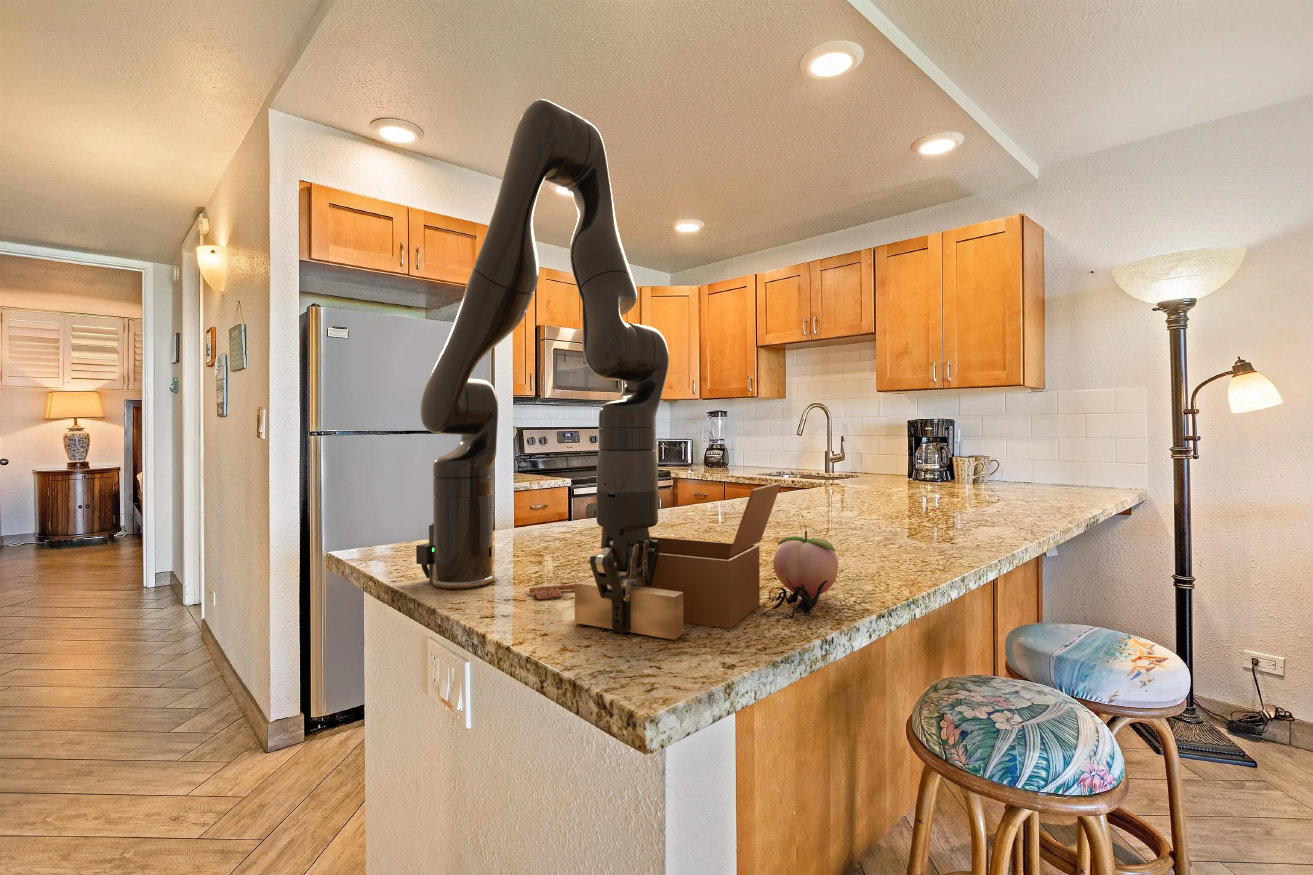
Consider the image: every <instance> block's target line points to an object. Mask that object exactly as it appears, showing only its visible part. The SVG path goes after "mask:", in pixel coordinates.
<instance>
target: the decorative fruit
mask: <svg viewBox="0 0 1313 875" xmlns="http://www.w3.org/2000/svg"><path fill="white" fill-rule="evenodd" d="M777 546H779V547H777V550H776V552H775V553H774V557H773V562H772V565H773V572H774V573H775V576H776V577H777V579H778V581H779V582H780V583H781V584H782V585H783V586H784V588H785V589H787V590H789V592H790V591H791V593H792V594H793V593H794V591H795V589H793V588H792V586H793V587H798V586H801V584H803V585H804V586H805V589H806V590H807V591H808V593H809V596H810V598H811V599H812V598H814V597H815V596H816V594H817V590H818V587H819V586H820V585H821V584H822V583H823V582H824V581H828V582H826V583H825V584H824V585H823V587H822V589H821V593H820V595H822V594H824V593H825V592H827V591H828V590H829V589H831V587H832V586H833V585H834V584H835V581H836V579H837V576H838V573H839V572H838V570H839V560H838V559H839V558H838V556H837V554H836V550H835V547H834V545H833V544H832V543H831V542H829V540H827V539H825V538H821V537H812V538H808V531H807V530H804V537H802V536H798V535H794V536H793V535H792V536H787V537H782V538H781V539H780V540H779V541H778V543H777ZM786 577H787V578H788V580H789V581H790V582H789V584H788V580H787V578H786ZM790 583H791V584H790ZM791 585H792V586H791ZM789 587H790V588H789ZM801 587H802V586H801ZM800 592H801V593H802V591H800ZM802 594H803V593H802ZM798 598H801V599H802V597H801V595H800V594H799V593H798Z"/></svg>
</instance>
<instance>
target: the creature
mask: <svg viewBox="0 0 1313 875" xmlns="http://www.w3.org/2000/svg"><path fill="white" fill-rule="evenodd" d="M786 578H787V577H786ZM787 580H788V578H787ZM789 582H790V581H789V580H788V584H789ZM826 582H828V581H824V582H823V583H822V584H821V585H820V586H819V587H818V590H817V594H816V596H815V597H813V598H810V596H809V593H808V591H807V590H806V589H805V586H804V585H803V584H801V586H802V587H801V586H798V587H793V586H792V585H791V586H792V588H793V589H795V591H794V593H793V592H791V591H790V590H789V591H788V590H786V588H785V587H782V586H781V587H780V590H781V591H780V592H779V594H778V596H777V597H776V596H774V597H773V598H772V599H771V603H770V604H772V603H773V602H774V603H777V604H776V605H774V606H773V607H772V608H770V609H768V610H766V611H765V612H764V615H769V614H771V612H770V611H773V610H776V609H779V608H781V606H782V605H783V604H784V602H786V604H788V605H792V604H796V603H797V602H798V600H799V596H798V593H799V594H800V595H801V597H802V598H801V597H800V598H801V599H800V601H799V602H798V604H797V606H796V607H795V608H794V609H793V611H792V613H791V615H790V614H787V613H786V614H785V612H781V614H782V615H783V616H788V617H789V618H790V619H794V616H795V614H796V611H799V610H800V611H802V612H803V614H804V616H806V615H807V614H808V615H811V610H813V608H815V607H816V605H817V603H818V600H819V598H820V596H821V594H820V593H821V589H822V587H823V585H824V584H825V583H826ZM790 584H791V583H790ZM789 588H790V587H789ZM800 591H802V593H803V594H802V593H801V592H800ZM787 593H788V594H789V596H787V595H788V594H787ZM774 600H775V601H774ZM769 612H770V613H769Z"/></svg>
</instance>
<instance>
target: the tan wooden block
mask: <svg viewBox="0 0 1313 875" xmlns="http://www.w3.org/2000/svg"><path fill="white" fill-rule="evenodd" d="M574 584H575V589H574V623H575V624H579V625H585V626H590V627H591V626H592V627H597V628H604V629H610V630H613V628H612V601H611V600H609V599H605V598H601V596H600V593H599V590H598V587H597V584H596V581H595V580H593V579H586V578H585V579H583V580H580V581H577V582H575V583H574ZM607 587H608V588H609V585H607ZM621 588H622V591H623V584H621ZM629 601H631V629H630V631H628V632H627V633H633V634H638V635H644V636H650V637H656V638H660V639H667V640H673V641H675V640H677V639H678V638H680V637H681V636H683V635H684V622H683V592H678V591H670V590H662V589H655V588H647V587H639V586H632V585H631V597H630V600H629Z"/></svg>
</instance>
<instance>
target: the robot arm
mask: <svg viewBox="0 0 1313 875" xmlns="http://www.w3.org/2000/svg"><path fill="white" fill-rule="evenodd" d="M610 180H611V179H610V173H609V166H608V159H607V153H606V149H605V143H604V141H603V138H602V135H601V133H600V131H599V130H598V128H597V127H596V126H595V125H593V123H591V122H589V121H588V120H587V119H585V118H584V117H581V116H580V115H577V114H576V113H574V112H572V111H569V110H568V109H566V108H564V107H562V106H560V105H558V104H556V103H555V102H552V101H550V100H547V99H542V98H541V99H536V100H535V101H533V102H531V103H530V104H529V105H528V106H527V107H526V108H525V111H524V112H523V113H522V115H521V117H520V119H519V122H518V123H517V126H516V129H515V132H514V135H513V138H512V142H511V145H510V149H509V152H508V156H507V161H506V165H505V168H504V172H503V176H502V180H501V184H500V187H499V190H498V196H497V199H496V203H495V206H494V208H493V213H492V215H491V217H490V222H489V224H488V227H487V229H486V233H485V236H484V238H483V242H482V243H481V246H480V249H479V252H478V254H477V256H476V259H475V261H474V264H473V267H472V270H471V272H470V275H469V277H468V281H467V284H466V286H465V290H464V293H463V296H462V299H461V303H460V306H459V308H458V311H457V313H456V316H455V319H454V322H453V325H452V328H451V330H450V332H449V335H448V336H447V339H446V342H445V344H444V347H443V348H442V351H441V352H440V354H439V356H438V358H437V361H436V363H435V365H434V367H433V369H432V371H431V373H430V375H429V377H428V380H427V382H426V384H425V387H424V390H423V392H422V396H421V401H420V420H421V423H422V425H423V427H424V428H425V429H426V430H427V431H429V432H430V433H433V434H437V435H450V436H451V435H460V440H459V441H460V442H459V444H458V445H457V447H455V448H454V449H453V450H451V452H448V453H447V454H445V455H442V456H440V457H438V458H436V459H435V460H434V462H433V464H432V482H433V483H432V495H433V496H432V497H433V498H432V500H433V502H432V504H433V510H432V511H433V514H432V515H433V520H432V521H433V522H432V523H429V526H428V542H427V543H421V544H417V545H415V559H416V560H415V564H416V565H420V566H421V570H422V572H423V574H424V575H425V577H426V579H428V581H429V584H432V585H433V586H434V587H437V588H440V589H449V590H458V589H459V590H460V589H472V588H478V587H483V586H485V585H489V584H491V583H492V582H494V580H495V579H494V578H495V577H494V576H495V574H494V556H495V554H496V545H495V544H494V495H493V492H494V491H493V489H494V487H493V486H494V484H493V479H494V478H493V470H494V469H493V468H494V464H495V461H496V457H497V449H498V448H497V445H498V424H499V423H498V422H499V402H498V396H497V392H496V390H495V388H494V386H493V385H492V384H491V382H489V381H488V380H486V379H482V378H473V377H471V376H472V374H473V372H474V370H475V368H476V367H477V365H478V364H479V362H480V361H481V360H482V359H483V358H484V357H485V356H486V355H487V354H488V353H489V352H490V351H491V350H493V349H494V348H495V347H496V346H497V345H499V344H500V343H501V342H502V341H503V340H504V339H506V338H507V337H508V336H509V335H510V334H511V333H512V332H513V331H514V330H515V329H516V328H517V327H518V326H519V325H520V324H521V322H522V321H523V320H524V318H525V316H526V313H527V312H528V309H529V306H530V304H531V301H532V299H533V296H534V293H535V291H536V290H537V287H538V283H539V278H540V266H539V258H538V251H537V245H536V239H535V233H534V214H535V213H534V212H535V207H536V205H537V204H536V203H537V200H538V195H539V193H540V190H541V187H542V185H543V182H544V181H546V182H548V183H551V184H554V185H557V186H559V187H561V188H565V189H567V191H568V192H569V194H570V196H571V197H572V200H573V202H574V204H575V207H576V210H577V222H576V225H575V228H574V231H573V234H572V237H571V241H570V246H569V260H570V266H571V270H572V274H573V277H574V280H575V284H576V287H577V290H578V294H579V297H580V300H581V303H582V304H581V305H582V306H581V307H582V314H581V316H582V320H581V322H582V353H583V357H584V360H585V362H586V364H587V366H588V368H589V369H590V370H591V371H592V372H593V373H594V374H595V375H596V376H597V377H598V378H601V379H604V380H610V381H622V382H623V381H624V385H623V389H622V392H621V395H620V397H619V398H618V399H617V400H611V401H607V402H605V403H604V404H602V405H601V407H600V409H599V412H598V453H597V454H598V455H597V463H596V523H597V525H598V526H599V527H601V528H602V527H603V528H604V529H605V531H606V533H605V539H604V542H603V548H602V549H603V550H601V552H600V554H598V555H596V554H592V555H591V556H590V558H589V564H590V565H589V566H590V568H591V570H592V574H593V577H594V581H596V584H597V587H598V590H599V593H600V596H601V598H605V599H609V600H611V601H612V628H613V629H612V630H613V631H614V632H616V633H622V634H627V633H629V632H628V631H630V629H631V601H629V600H630V597H631V585H632V586H639V587H647V586H651V585H652V582H653V578H654V573H655V568H656V564H657V559H658V554H659V550H660V541H657V540H651V539H650V536H651V534H650V529H649V528H653V527H655V526H656V525H657V524H658V522H659V466H658V459H657V458H658V457H657V451H656V450H657V419H656V418H657V413H658V410H659V408H660V407H659V406H660V403H661V400H662V395H663V390H664V387H665V383H666V379H667V375H668V370H669V364H670V363H669V362H670V354H669V348H668V345H667V342H666V339H665V337H664V335H662V333H661V331H659V330H658V329H657V328H654V327H652V326H648V325H644V324H637V323H630V322H625V321H624V320H623V318H622V316H624V315H626V314H627V313H629V312H630V311H631V310H632V309H633V308H634V307H635V305H636V303H637V298H638V293H637V287H636V285H635V281H634V279H633V274H632V272H631V269H630V266H629V262H628V260H627V257H626V254H625V251H624V248H623V244H622V241H621V237H620V233H619V230H618V225H617V220H616V213H615V206H614V200H613V191H612V185H611V181H610ZM617 571H619V572H620V573H621V574H618V573H617ZM620 581H621V582H622V583H623V591H622V588H621V584H620ZM607 585H609V588H608V587H607Z"/></svg>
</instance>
